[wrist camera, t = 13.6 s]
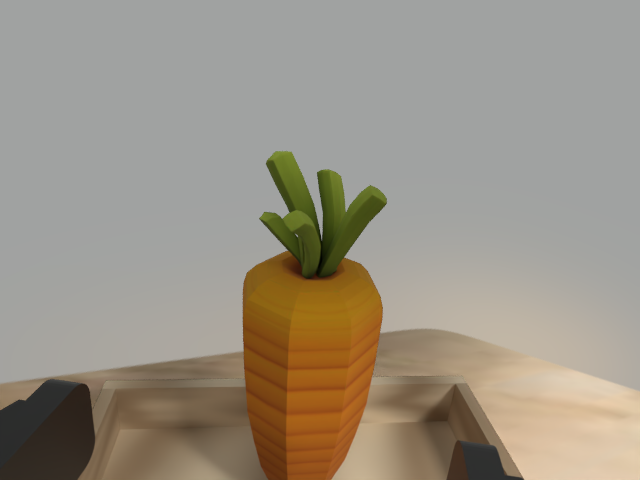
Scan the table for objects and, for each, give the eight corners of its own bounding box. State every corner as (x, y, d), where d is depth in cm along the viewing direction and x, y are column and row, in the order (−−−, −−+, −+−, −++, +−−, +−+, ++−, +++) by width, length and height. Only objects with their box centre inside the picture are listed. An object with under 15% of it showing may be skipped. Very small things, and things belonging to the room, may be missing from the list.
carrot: (379, 526, 20) (438, 172, 14) (270, 588, 17) (283, 191, 11) (318, 441, 24) (343, 136, 18) (221, 482, 21) (211, 144, 15)
